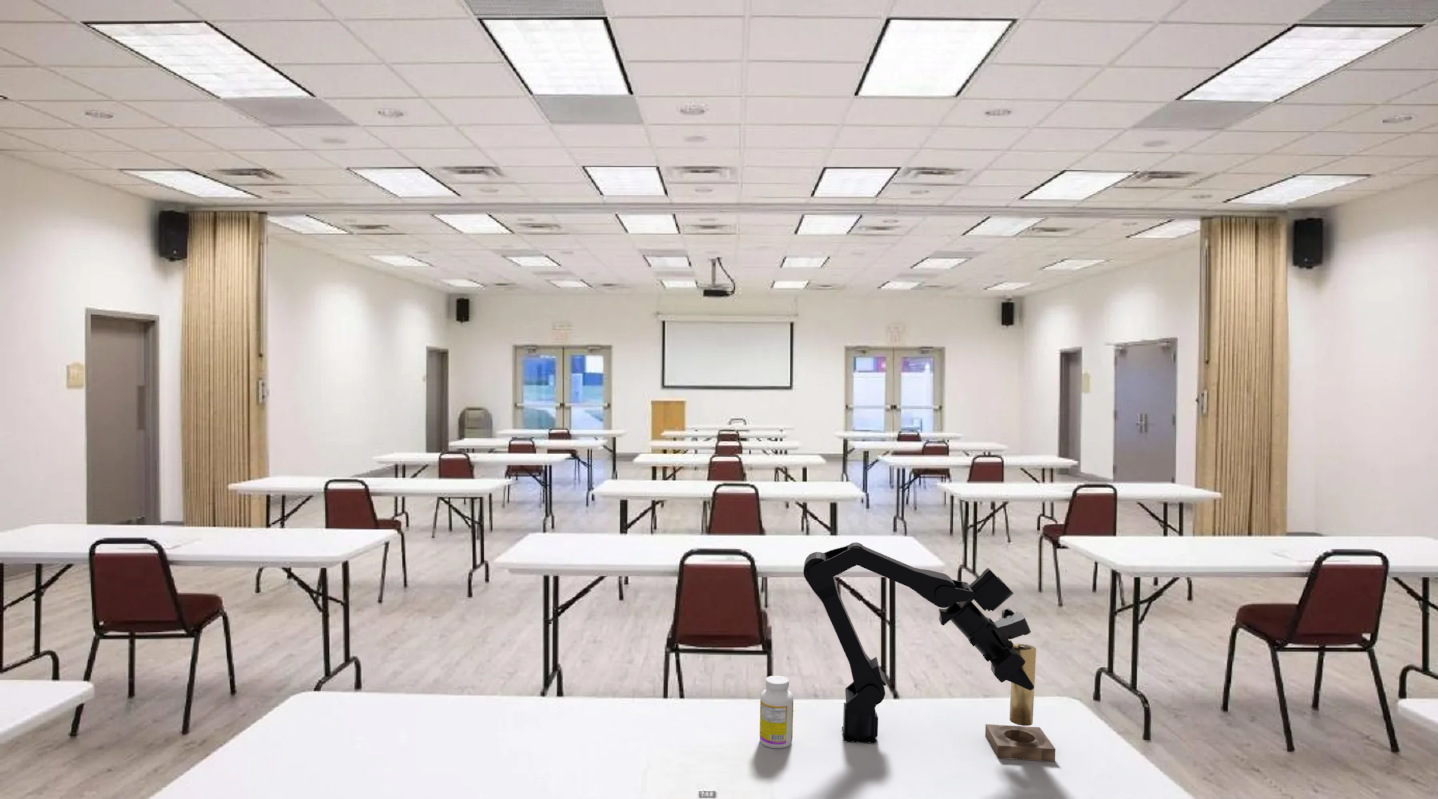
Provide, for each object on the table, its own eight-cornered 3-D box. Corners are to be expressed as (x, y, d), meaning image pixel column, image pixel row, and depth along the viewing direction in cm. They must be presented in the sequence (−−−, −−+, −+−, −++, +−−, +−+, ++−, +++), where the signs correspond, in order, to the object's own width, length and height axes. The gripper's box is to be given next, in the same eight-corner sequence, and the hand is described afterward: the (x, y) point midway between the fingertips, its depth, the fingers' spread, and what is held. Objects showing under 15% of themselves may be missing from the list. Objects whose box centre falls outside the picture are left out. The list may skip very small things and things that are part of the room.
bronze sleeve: (1017, 726, 164) (1021, 650, 163) (1005, 717, 168) (1008, 643, 168) (1037, 725, 165) (1040, 649, 164) (1024, 715, 169) (1027, 642, 169)
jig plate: (997, 758, 163) (997, 745, 163) (985, 735, 173) (985, 724, 173) (1054, 761, 162) (1055, 748, 162) (1039, 739, 172) (1039, 727, 172)
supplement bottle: (774, 732, 172) (776, 671, 171) (799, 743, 167) (800, 680, 167) (752, 741, 167) (754, 678, 167) (777, 753, 162) (778, 688, 162)
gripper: (1015, 613, 157) (1074, 675, 156) (996, 588, 175) (1048, 643, 174) (971, 651, 158) (1028, 713, 157) (956, 622, 177) (1008, 677, 176)
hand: (1029, 684), depth 166 cm, fingers closed on bronze sleeve, 4 cm apart
